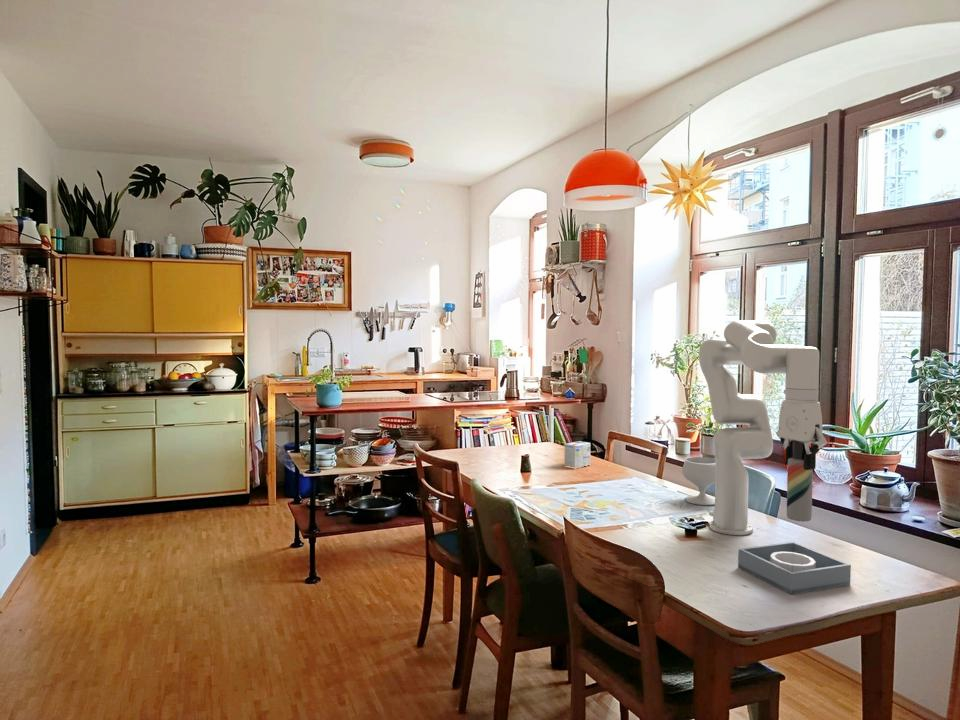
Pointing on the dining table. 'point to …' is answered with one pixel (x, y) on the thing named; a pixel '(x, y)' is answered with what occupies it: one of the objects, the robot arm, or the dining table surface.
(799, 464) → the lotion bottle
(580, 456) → the light bulb box
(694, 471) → the chalice
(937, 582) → the dining table surface
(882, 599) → the dining table surface
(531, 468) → the dining table surface
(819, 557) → the socket box
